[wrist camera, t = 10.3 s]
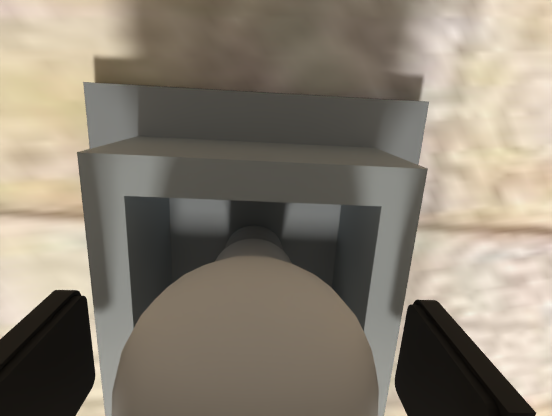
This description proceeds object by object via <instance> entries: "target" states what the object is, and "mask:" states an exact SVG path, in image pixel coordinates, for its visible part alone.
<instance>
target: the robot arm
mask: <svg viewBox="0 0 552 416" xmlns="http://www.w3.org/2000/svg"><path fill="white" fill-rule="evenodd" d="M94 380H95V367H94V359H93V350H92V341H91V332H90V323H89V314H88V305H87V299H86V297H85V296H81V294H80V292H79V291H76V290H55V291H54V292H52V293H51V294H50V295H49V296H48V297H47V298H46V299H44V300H43V301H42V302H41V303H40V304H39V305H38V306H37V307H36V308H35V309H33V310H32V311H31V312H30V313H29V314H28V315H27V316H26V317H25V318H23V319H22V320H21V321H20V322H19V323H18V324H17V325H16V326H15V327H14V328H12V329H11V330H10V331H9V332H8V333H7V334H6V335H5V336H4V337H2V338H1V339H0V416H76V414H77V412H78V411H79V409H80V407H81V406H82V404H83V402H84V401H85V399H86V397H87V395H88V394H89V392H90V390H91V389H92V387H93V384H94ZM395 388H396V391H397V394H398V396H399V398H400V400H401V403H402V405H403V407H404V409H405V411H406V413H407V415H408V416H535V415H536V412H535V411H534V410H533V409H532V408H531V406H530V405H529V404H528V403H527V402H526V401H525V400H524V399H523V397H522V396H521V395H520V394H519V393H518V392H517V391H516V389H515V388H514V387H513V386H512V385H511V384H510V383H509V382H508V380H507V379H506V378H505V377H504V376H503V375H502V374H501V372H500V371H499V370H498V369H497V368H496V367H495V366H494V365H493V363H492V362H491V361H490V360H489V359H488V358H487V357H486V355H485V354H484V353H483V352H482V351H481V350H480V349H479V348H478V346H477V345H476V344H475V343H474V342H473V341H472V340H471V338H470V337H469V336H468V335H467V334H466V333H465V332H464V331H463V329H462V328H461V327H460V326H459V325H458V324H457V323H456V321H455V320H454V319H453V318H452V317H451V316H450V315H449V314H448V312H447V311H446V310H445V309H444V308H443V307H442V306H441V305H440V303H439V302H437V301H435V300H416V301H415V302H414V304H413V305H409V306H408V309H407V314H406V320H405V325H404V331H403V337H402V342H401V348H400V353H399V359H398V364H397V370H396V375H395Z"/></svg>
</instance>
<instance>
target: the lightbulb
mask: <svg viewBox="0 0 552 416" xmlns="http://www.w3.org/2000/svg"><path fill="white" fill-rule="evenodd" d="M378 398H379V387H378V380H377V373H376V367H375V363H374V358H373V354H372V350H371V347H370V345H369V343H368V340H367V338H366V335H365V333H364V331H363V329H362V327H361V325H360V323H359V321H358V319H357V317H356V316H355V314H354V313H353V312H352V311H351V310H350V308H349V307H348V306H347V305H346V304H345V302H344V301H343V300H342V299H341V298H340V297H339V295H338V294H337V293H336V292H335V291H334V290H333V289H332V288H331V287H330V286H329V285H328V284H326V283H325V282H324V281H322V280H321V279H320V278H319V277H317V276H316V275H314V274H312V273H310V272H308V271H306V270H304V269H302V268H300V267H298V266H296V265H294V264H292V262H291V261H290V259H289V257H288V256H287V254H286V253H285V252H284V250H283V247H282V245H281V242H280V240H279V238H278V237H277V235H276V234H275V233H274V232H272V231H271V230H269V229H267V228H265V227H262V226H255V225H253V226H246V227H243V228H241V229H239V230H237V231H236V232H234V233H233V234H232V235H231V237H230V238H229V240H228V241H227V243H226V246H225V248H224V250H223V251H222V252H221V253H220V254H219V255H218V257H217V259H216V260H215V262H212V263H209V264H206V265H203V266H201V267H199V268H197V269H195V270H193V271H191V272H189V273H186V274H184V275H183V276H182V277H180V278H179V279H178V280H176V281H175V282H174V283H172V284H171V285H170V286H168V287H167V288H166V289H165V290H164V291H163V292H162V293H161V294H160V295H159V296H158V297H157V298H156V299H155V300H154V301H153V302H152V303H151V304H150V306H149V307H148V308H147V309H146V310H145V311H144V312H143V314H142V315H141V316H140V318H139V320H138V321H137V323H136V325H135V327H134V329H133V331H132V333H131V335H130V337H129V339H128V340H127V342H126V344H125V346H124V348H123V350H122V352H121V357H120V361H119V365H118V369H117V373H116V378H115V382H114V386H113V391H112V416H378Z"/></svg>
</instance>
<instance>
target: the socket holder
mask: <svg viewBox="0 0 552 416" xmlns="http://www.w3.org/2000/svg"><path fill="white" fill-rule="evenodd" d="M83 84H84V94H85V104H86V115H87V125H88V135H89V146H90V149H88V150H84V151H80V152H77V156H78V165H79V175H80V184H81V193H82V203H83V212H84V221H85V231H86V240H87V249H88V259H89V268H90V277H91V287H92V296H93V305H94V315H95V324H96V333H97V343H98V352H99V361H100V370H101V380H102V389H103V398H104V408H105V416H112V391H113V386H114V382H115V378H116V373H117V369H118V365H119V361H120V357H121V352H122V350H123V348H124V346H125V344H126V342H127V340H128V339H129V337H130V335H131V333H132V331H133V329H134V327H135V325H136V323H137V321H138V320H139V318H140V316H141V315H142V314H143V312H144V311H145V310H146V309H147V308H148V307H149V306H150V304H151V303H152V302H153V301H154V300H155V299H156V298H157V297H158V296H159V295H160V294H161V293H162V292H163V291H164V290H165V289H166V288H167V287H168V286H170V285H171V284H172V283H174V282H175V281H176V280H178V279H179V278H180V277H182V276H183V275H184V274H186V273H189V272H191V271H193V270H195V269H197V268H199V267H201V266H203V265H206V264H209V263H212V262H215V260H216V259H217V257H218V255H219V254H220V253H221V252H222V251H223V250H224V248H225V246H226V243H227V241H228V240H229V238H230V237H231V235H232V234H233V233H234V232H236V231H237V230H239V229H241V228H243V227H246V226H253V225H255V226H262V227H265V228H267V229H269V230H271V231H272V232H274V233H275V234H276V235H277V237H278V238H279V240H280V242H281V245H282V247H283V250H284V252H285V253H286V254H287V256H288V257H289V259H290V261H291V262H292V264H294V265H296V266H298V267H300V268H302V269H304V270H306V271H308V272H310V273H312V274H314V275H316V276H317V277H319V278H320V279H321V280H322V281H324V282H325V283H326V284H328V285H329V286H330V287H331V288H332V289H333V290H334V291H335V292H336V293H337V294H338V295H339V297H340V298H341V299H342V300H343V301H344V302H345V304H346V305H347V306H348V307H349V308H350V310H351V311H352V312H353V313H354V314H355V316H356V317H357V319H358V321H359V323H360V325H361V327H362V329H363V331H364V333H365V335H366V338H367V340H368V343H369V345H370V347H371V350H372V354H373V358H374V363H375V367H376V373H377V380H378V387H379V398H378V416H384V412H385V407H386V401H387V395H388V390H389V384H390V378H391V373H392V367H393V362H394V356H395V350H396V345H397V339H398V333H399V328H400V322H401V316H402V311H403V305H404V299H405V294H406V288H407V282H408V277H409V271H410V266H411V260H412V254H413V249H414V243H415V237H416V232H417V226H418V220H419V215H420V209H421V203H422V198H423V192H424V186H425V181H426V175H427V168H424V167H422V166H419V165H418V164H419V158H420V152H421V146H422V140H423V134H424V128H425V122H426V117H427V111H428V105H429V102H425V101H407V100H389V99H372V98H354V97H336V96H319V95H301V94H283V93H266V92H248V91H231V90H213V89H195V88H178V87H160V86H142V85H125V84H107V83H89V82H83Z"/></svg>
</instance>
